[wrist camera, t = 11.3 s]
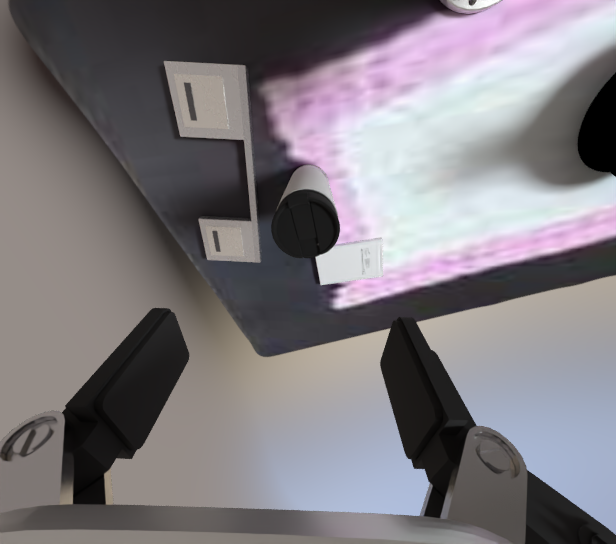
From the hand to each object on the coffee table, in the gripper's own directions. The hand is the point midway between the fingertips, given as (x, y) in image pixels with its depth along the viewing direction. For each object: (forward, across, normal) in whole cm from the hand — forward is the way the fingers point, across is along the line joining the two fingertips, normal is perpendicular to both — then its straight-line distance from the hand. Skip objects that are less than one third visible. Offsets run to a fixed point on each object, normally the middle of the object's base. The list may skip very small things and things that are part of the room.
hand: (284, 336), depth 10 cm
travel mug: (+32, -1, 0) cm, 32 cm away
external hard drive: (+33, -9, +14) cm, 37 cm away
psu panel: (+32, +13, 0) cm, 34 cm away
